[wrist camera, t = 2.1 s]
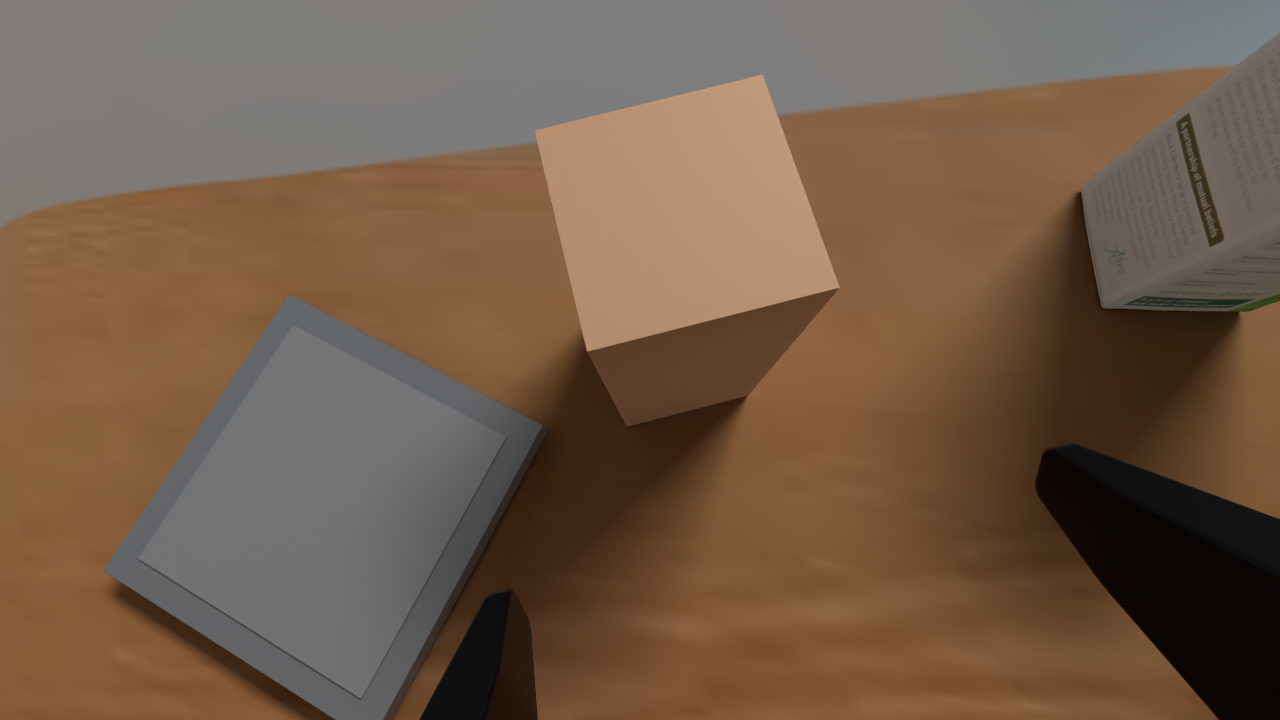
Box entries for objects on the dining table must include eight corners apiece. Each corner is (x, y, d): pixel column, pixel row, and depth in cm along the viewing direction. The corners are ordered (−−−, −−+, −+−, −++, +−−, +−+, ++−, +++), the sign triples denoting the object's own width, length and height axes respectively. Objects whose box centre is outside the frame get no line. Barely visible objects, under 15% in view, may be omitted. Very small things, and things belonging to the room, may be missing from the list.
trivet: (387, 727, 20) (369, 743, 19) (132, 566, 22) (100, 570, 20) (549, 428, 22) (542, 425, 21) (307, 304, 24) (287, 293, 23)
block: (747, 395, 22) (839, 287, 11) (626, 426, 22) (586, 351, 11) (713, 282, 24) (762, 74, 12) (598, 311, 23) (534, 130, 12)
